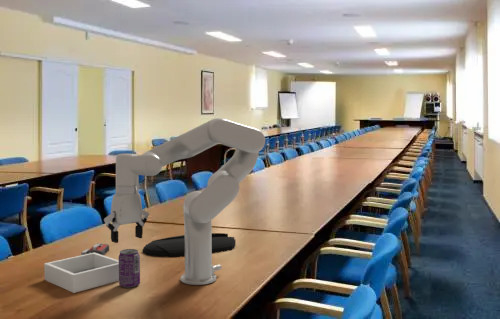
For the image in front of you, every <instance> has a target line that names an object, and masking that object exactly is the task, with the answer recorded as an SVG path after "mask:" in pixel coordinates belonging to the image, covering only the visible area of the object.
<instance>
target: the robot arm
mask: <svg viewBox="0 0 500 319" xmlns="http://www.w3.org/2000/svg"><path fill="white" fill-rule="evenodd" d="M219 144H220V145H223V146H226V147H229V148H232V149H235V151H234V153H233V155H232V157H230V159H229V160H227V162H226V163H224V164H223V165H222V166H221V167H220V168H219V169H218V170H217V171H215V172H214V173H212V175H211V176H210V177H209V178H208V180H207V186H206V187H205V188H204V189H203V190H202V191H201V190H194V191H191V192H189V193H188V194H187V195H186V196H185V199H184V200H183V208H182V209H183V223H184V225H183V226H184V235H185V256H184V273H183V274H182V275H181V276H180V282H182V283H183V284H186V285H191V286H202V285H203V286H205V285H209V284H211V283H214V282H215V281H216V280H217V275H216V274H215V272H216V271H220V270H222V265H221V264H216V265H214V264H212V263H213V260H212V259H213V258H212V257H213V256H212V255H213V253H212V232H213V231H212V229H213V228H212V225H213V224H212V220H213V219H214V218H216V217H217V216H218V215H219V214H220V213H221V212H222V211H224V209H226V208H227V207H228V206H229V205H230V204H231V203H232V202H233V201H234V200H235V199H236V197H237V196H238V194H239V192H240V183H241V182H243V181H244V179H245V178H246V177H247V176H248V175H249V174H250V173H251V172H252V171H253V170H254V168H255V166H256V164H257V161H258V158H259V157H258V156H259V152H260V151H262V149H264V147H265V144H266V137H265V134H264V133H263V132H262V131H261V130H260V129H258V128H255V127H251V126H247V125H245V124H241V123H237V122H234V121H232V120H228V119H226V118H220V117H219V118H213V119H210V120H208V121H206V122H204V123H202V124H200V125H198V126H196V127H194V128H192V129H191V130H188V131H186V132H184V133H182V134H180V135H179V136H176V137H173V138H172V139H169V140H168V141H166V142H164V143H161V144H159V145H157V146H155V147H153V148H151V149H149V150H147V151H144V152H143V153H142V154H135V153H126V152H125V153H119V154H117V155H116V157H115V193H114V194H112V195H113V196H112V200H111V206H110V214H108V215H107V216H106V217H104V219H103V221H104V223H105V225H106V227H107V228H108V229H109V230H110V240H111V241H110V242H112V243H115V244H117V243H119V231H118V229H119V227H120V226H123V225H130V224H136V225H135V226H134V227H135V228H134V229H135V231H134V233H135V238H138V239H143V228H144V227H145V225H146V224H145V223H147V220H148V218H149V215H150V213H149V212H147V211H146V210H144V209H143V205H142V197H141V194H140V193H139V190H141V189H142V187H141V185H140V183H139V182H140V181H139V176H146V177H155V176H157V175H158V174H160V172H161V171H162V169H163V167H166V166H168V165H169V164H172V163H173V162H174V163H175V162H176V161H179V160H185V159H189V158H192V157H195V156H197V155H199V154H201V153H203V152H204V151H206V150H208V149H211V148H212V147H214V146H217V145H219Z"/></svg>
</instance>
